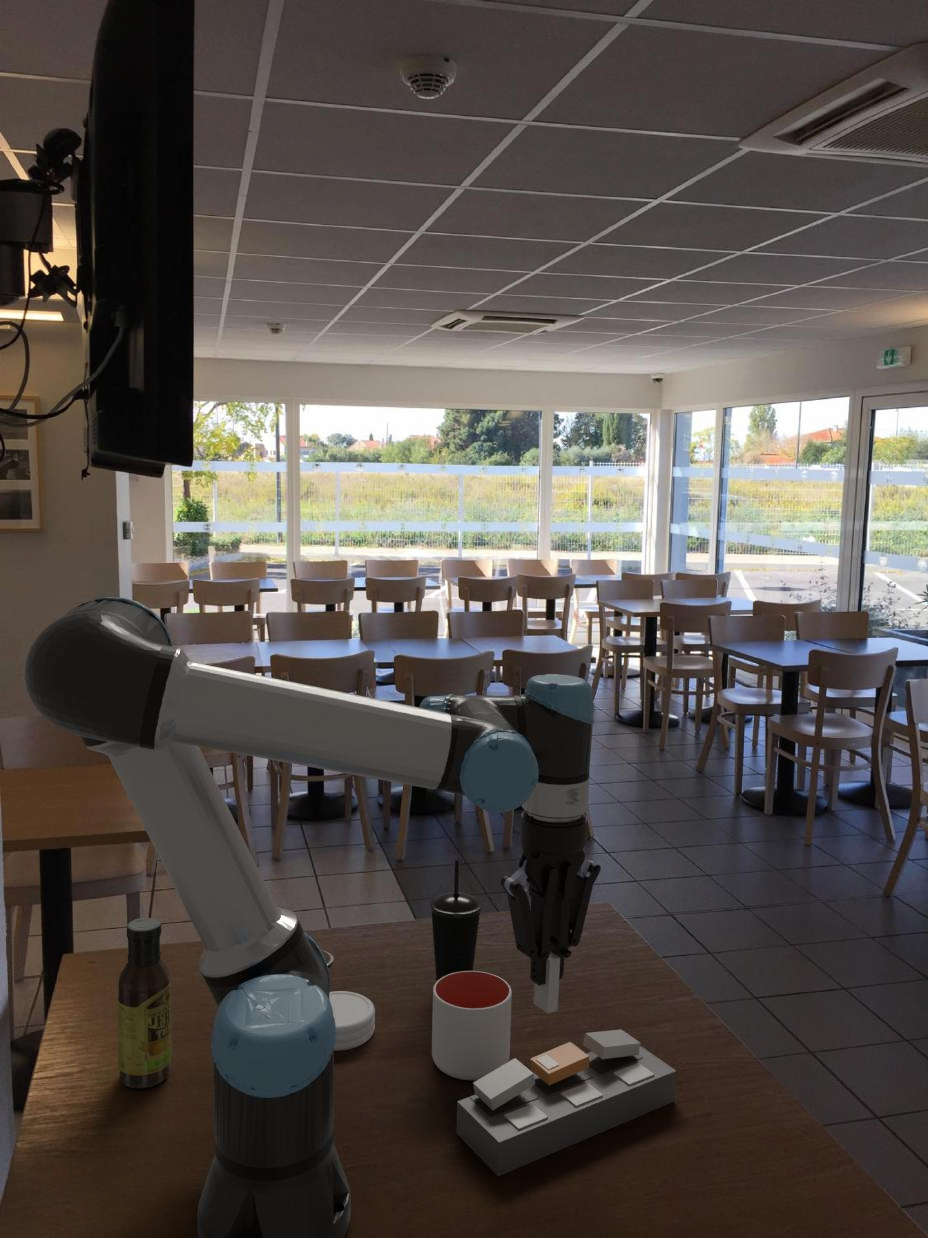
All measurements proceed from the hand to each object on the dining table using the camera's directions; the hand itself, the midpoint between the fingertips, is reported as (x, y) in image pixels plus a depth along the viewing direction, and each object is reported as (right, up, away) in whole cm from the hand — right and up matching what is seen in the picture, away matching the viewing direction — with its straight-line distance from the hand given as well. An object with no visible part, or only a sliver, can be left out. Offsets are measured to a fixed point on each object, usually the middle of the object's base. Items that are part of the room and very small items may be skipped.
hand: (545, 1006), depth 119 cm
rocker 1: (-5, -8, -2) cm, 10 cm away
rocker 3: (+9, -8, +7) cm, 13 cm away
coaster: (-27, -11, +19) cm, 34 cm away
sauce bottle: (-49, -12, +8) cm, 51 cm away
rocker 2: (+2, -8, +2) cm, 9 cm away
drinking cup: (-11, -9, +30) cm, 33 cm away
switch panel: (+3, -14, +2) cm, 14 cm away
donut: (-34, -8, +37) cm, 51 cm away
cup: (-9, -12, +12) cm, 19 cm away
